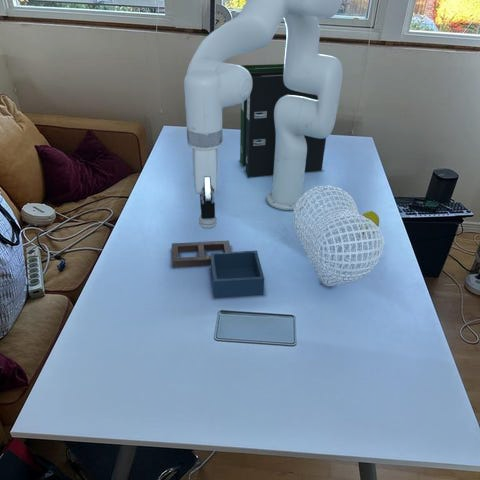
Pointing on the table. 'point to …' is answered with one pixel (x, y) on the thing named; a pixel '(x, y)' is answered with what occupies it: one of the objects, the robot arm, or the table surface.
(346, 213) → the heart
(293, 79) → the robot arm
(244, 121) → the binder
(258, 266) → the blue open box
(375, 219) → the lemon
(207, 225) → the rook chess piece
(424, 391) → the table surface
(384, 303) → the table surface
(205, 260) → the stand
